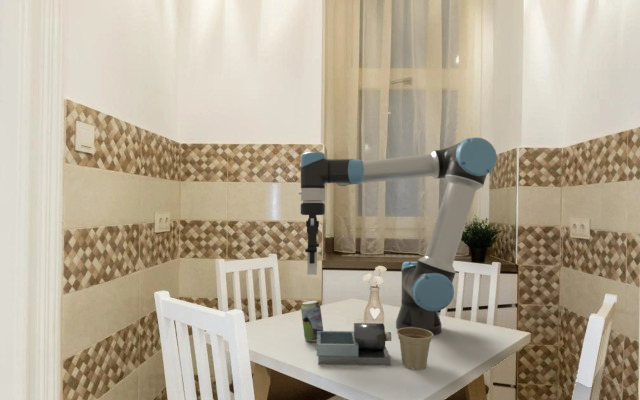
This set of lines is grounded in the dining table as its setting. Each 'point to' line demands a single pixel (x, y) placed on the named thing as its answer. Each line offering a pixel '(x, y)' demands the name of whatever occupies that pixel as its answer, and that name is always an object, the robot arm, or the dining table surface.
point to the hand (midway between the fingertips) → (312, 270)
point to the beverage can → (311, 319)
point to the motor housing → (354, 346)
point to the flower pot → (414, 346)
